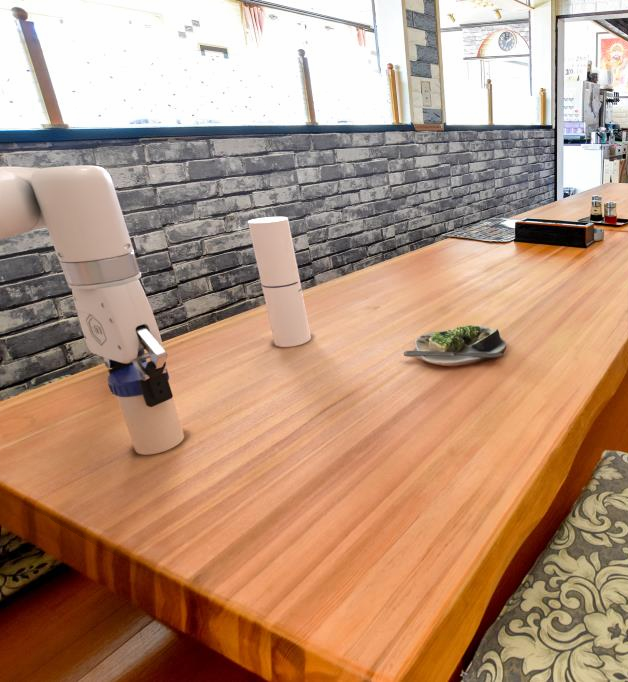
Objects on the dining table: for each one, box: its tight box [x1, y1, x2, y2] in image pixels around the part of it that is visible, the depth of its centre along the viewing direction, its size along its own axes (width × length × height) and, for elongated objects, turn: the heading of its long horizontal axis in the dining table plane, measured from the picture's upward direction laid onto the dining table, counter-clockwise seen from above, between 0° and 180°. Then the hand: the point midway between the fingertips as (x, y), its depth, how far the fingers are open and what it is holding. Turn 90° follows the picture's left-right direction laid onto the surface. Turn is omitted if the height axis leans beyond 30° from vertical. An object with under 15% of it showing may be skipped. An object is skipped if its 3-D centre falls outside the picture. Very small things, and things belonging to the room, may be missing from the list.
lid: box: [106, 361, 170, 396], centre depth 72 cm, size 7×7×2 cm
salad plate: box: [403, 324, 507, 368], centre depth 101 cm, size 19×18×5 cm
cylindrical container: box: [247, 216, 312, 348], centre depth 106 cm, size 7×7×25 cm
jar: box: [115, 394, 185, 456], centre depth 74 cm, size 6×6×11 cm
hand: (144, 395), depth 73 cm, fingers closed on lid, 6 cm apart
